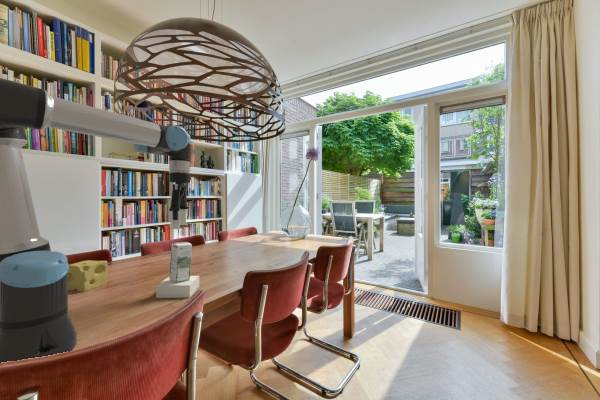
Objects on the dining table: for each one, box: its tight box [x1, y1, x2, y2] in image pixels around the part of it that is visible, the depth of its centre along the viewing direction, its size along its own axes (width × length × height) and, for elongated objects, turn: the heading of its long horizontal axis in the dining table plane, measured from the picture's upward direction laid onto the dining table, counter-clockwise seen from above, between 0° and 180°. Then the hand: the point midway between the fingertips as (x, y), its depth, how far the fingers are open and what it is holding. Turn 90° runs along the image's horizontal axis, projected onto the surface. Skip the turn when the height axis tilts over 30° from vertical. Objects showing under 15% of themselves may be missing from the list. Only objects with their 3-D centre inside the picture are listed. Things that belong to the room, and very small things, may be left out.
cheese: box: [68, 259, 109, 293], centre depth 110 cm, size 10×11×10 cm
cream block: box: [155, 275, 200, 299], centre depth 106 cm, size 12×12×5 cm
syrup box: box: [168, 241, 193, 282], centre depth 106 cm, size 6×6×14 cm
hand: (179, 226), depth 105 cm, fingers open, 13 cm apart
